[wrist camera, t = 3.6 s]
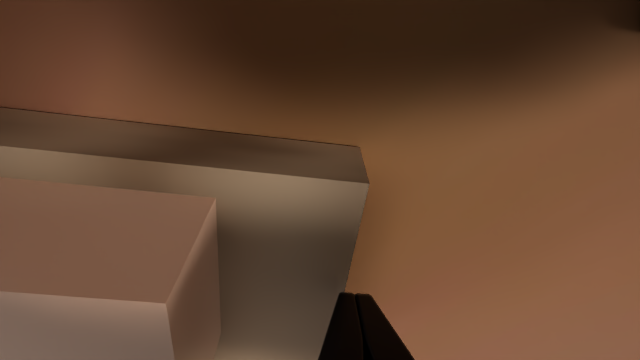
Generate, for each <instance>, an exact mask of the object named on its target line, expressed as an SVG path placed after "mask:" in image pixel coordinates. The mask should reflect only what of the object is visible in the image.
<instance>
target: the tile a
mask: <svg viewBox="0 0 640 360" xmlns="http://www.w3.org/2000/svg"><path fill="white" fill-rule="evenodd" d="M220 334H221V318H220V293H219V268H218V242H217V217H216V198H212V197H202V196H192V195H181V194H171V193H161V192H150V191H140V190H130V189H119V188H109V187H99V186H88V185H78V184H68V183H57V182H47V181H37V180H26V179H16V178H5V177H0V360H214V356H215V352H216V349H217V345H218V342H219V338H220Z"/></svg>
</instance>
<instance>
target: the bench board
mask: <svg viewBox="0 0 640 360" xmlns="http://www.w3.org/2000/svg"><path fill="white" fill-rule="evenodd" d="M0 177H5V178H16V179H26V180H37V181H47V182H57V183H68V184H78V185H88V186H99V187H109V188H119V189H130V190H140V191H150V192H161V193H171V194H181V195H192V196H202V197H212V198H216V217H217V242H218V268H219V293H220V318H221V334H220V338H219V342H218V345H217V349H216V352H215V356H214V360H318V357H319V354H320V351H321V348H322V345H323V342H324V339H325V335H326V332H327V329H328V326H329V323H330V320H331V316H332V313H333V310H334V307H335V304H336V301H337V297H338V295H339V293H340V292H344V291H345V287H346V282H347V278H348V274H349V270H350V265H351V261H352V257H353V252H354V248H355V244H356V239H357V235H358V231H359V226H360V222H361V218H362V214H363V209H364V205H365V201H366V196H367V192H368V188H369V180H368V177H367V173H366V169H365V166H364V162H363V158H362V154H361V151H360V147H353V146H344V145H335V144H326V143H317V142H308V141H299V140H290V139H281V138H272V137H263V136H254V135H245V134H236V133H227V132H218V131H209V130H199V129H190V128H181V127H172V126H163V125H154V124H145V123H136V122H127V121H118V120H109V119H100V118H91V117H82V116H73V115H64V114H55V113H46V112H37V111H28V110H19V109H9V108H0Z"/></svg>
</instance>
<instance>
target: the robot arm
mask: <svg viewBox="0 0 640 360" xmlns="http://www.w3.org/2000/svg"><path fill="white" fill-rule="evenodd" d="M318 360H415V359H414V358H413V357H412V355H411V354H410V352H409V351H408V349H407V348H406V346H405V345H404V343H403V342H402V340H401V339H400V337H399V336H398V334H397V333H396V331H395V330H394V329H393V327H392V326H391V324H390V323H389V321H388V320H387V318H386V317H385V315H384V314H383V312H382V311H381V309H380V308H379V306H378V305H377V303H376V302H375V300H374V299H373V298H372V296H371V295H369V294H360V293H357V294H355V295H354V294H353V293H346V292H340V293H339V295H338V297H337V301H336V304H335V307H334V310H333V313H332V316H331V320H330V323H329V326H328V329H327V332H326V335H325V339H324V342H323V345H322V348H321V351H320V354H319V357H318Z"/></svg>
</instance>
